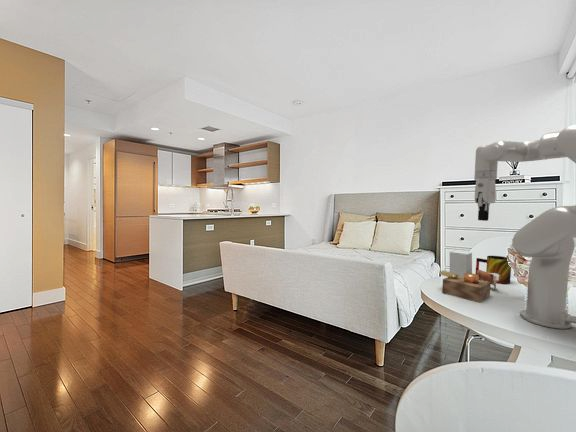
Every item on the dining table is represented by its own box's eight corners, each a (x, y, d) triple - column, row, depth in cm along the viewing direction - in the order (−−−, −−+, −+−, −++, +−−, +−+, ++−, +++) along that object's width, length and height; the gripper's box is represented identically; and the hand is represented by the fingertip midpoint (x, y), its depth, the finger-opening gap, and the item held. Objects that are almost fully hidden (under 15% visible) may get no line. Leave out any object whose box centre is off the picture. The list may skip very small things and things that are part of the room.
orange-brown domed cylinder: (479, 294, 115) (480, 275, 114) (475, 297, 112) (476, 277, 111) (465, 291, 119) (466, 272, 118) (461, 293, 116) (461, 274, 115)
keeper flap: (458, 277, 121) (458, 274, 120) (454, 279, 118) (454, 276, 118) (443, 272, 125) (444, 270, 125) (439, 274, 123) (439, 271, 122)
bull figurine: (494, 293, 118) (496, 274, 118) (473, 283, 132) (473, 267, 131) (504, 293, 119) (505, 274, 118) (481, 283, 132) (482, 267, 131)
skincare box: (472, 282, 133) (473, 252, 132) (466, 284, 130) (467, 253, 129) (454, 278, 140) (455, 249, 139) (448, 280, 137) (449, 251, 136)
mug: (475, 276, 145) (476, 254, 144) (508, 280, 137) (509, 257, 137) (476, 280, 136) (477, 257, 136) (511, 285, 129) (513, 260, 128)
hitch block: (489, 296, 115) (490, 282, 114) (479, 302, 107) (480, 287, 107) (453, 287, 126) (454, 274, 125) (442, 292, 118) (442, 279, 118)
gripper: (490, 174, 104) (487, 221, 106) (502, 176, 114) (499, 220, 115) (468, 175, 110) (466, 220, 112) (481, 177, 120) (478, 219, 121)
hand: (483, 220), depth 113 cm, fingers closed
